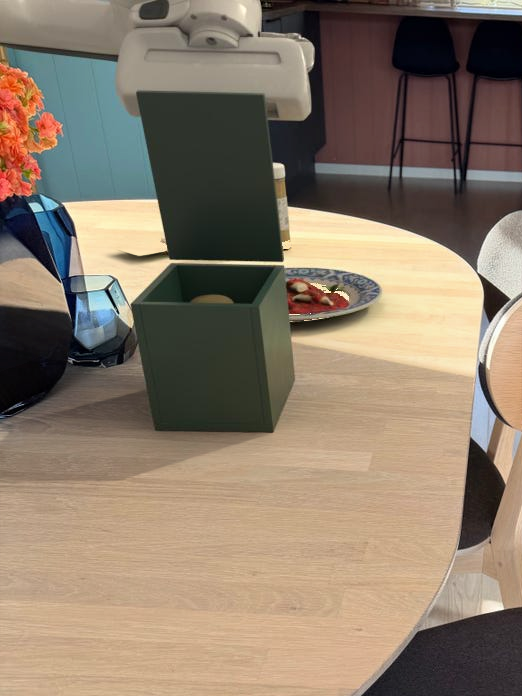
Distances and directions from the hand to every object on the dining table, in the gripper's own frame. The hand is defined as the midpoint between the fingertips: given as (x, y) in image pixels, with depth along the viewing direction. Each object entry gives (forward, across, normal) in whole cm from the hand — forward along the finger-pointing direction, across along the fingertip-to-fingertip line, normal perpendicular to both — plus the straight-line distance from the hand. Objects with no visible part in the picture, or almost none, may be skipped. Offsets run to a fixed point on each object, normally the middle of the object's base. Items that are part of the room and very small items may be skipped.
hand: (211, 148), depth 98 cm
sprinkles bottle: (-28, +6, -64) cm, 70 cm away
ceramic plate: (-4, -2, -40) cm, 40 cm away
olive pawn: (+23, 0, -12) cm, 26 cm away
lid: (+3, 0, -1) cm, 3 cm away
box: (+23, 0, -12) cm, 26 cm away
